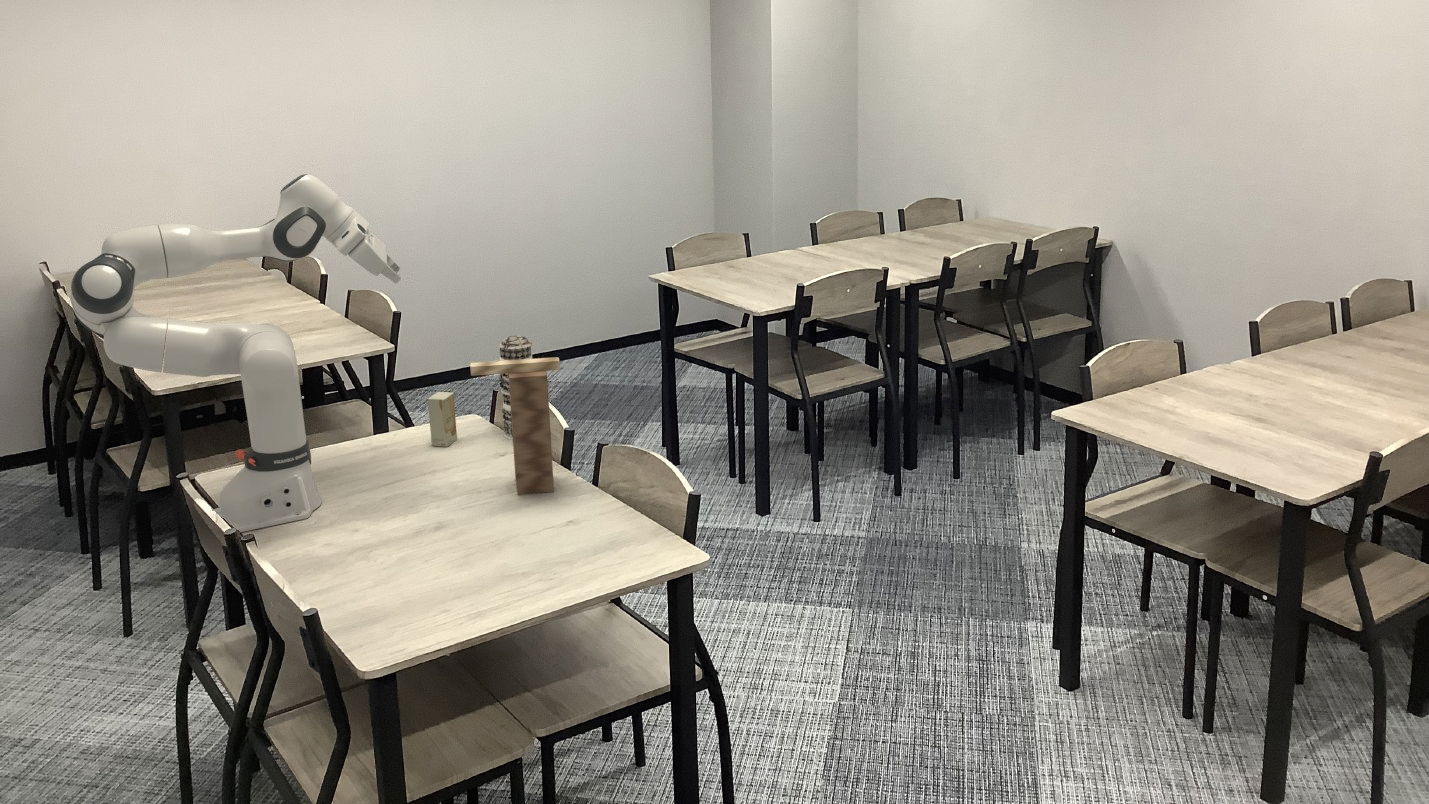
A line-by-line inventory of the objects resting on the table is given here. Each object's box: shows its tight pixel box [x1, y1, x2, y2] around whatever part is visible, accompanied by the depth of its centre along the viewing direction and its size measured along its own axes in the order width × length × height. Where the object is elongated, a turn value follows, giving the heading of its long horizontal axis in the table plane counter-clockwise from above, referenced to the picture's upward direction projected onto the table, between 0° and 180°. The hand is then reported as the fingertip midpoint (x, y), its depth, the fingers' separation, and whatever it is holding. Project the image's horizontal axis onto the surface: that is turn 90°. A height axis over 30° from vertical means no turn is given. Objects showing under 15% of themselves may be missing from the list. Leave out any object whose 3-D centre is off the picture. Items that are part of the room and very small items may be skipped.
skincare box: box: [427, 391, 458, 448], centre depth 294 cm, size 6×4×12 cm
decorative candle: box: [498, 335, 533, 441], centre depth 297 cm, size 9×9×25 cm
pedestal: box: [508, 371, 555, 496], centre depth 265 cm, size 8×10×27 cm
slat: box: [469, 356, 561, 377], centre depth 260 cm, size 19×3×2 cm, turn 101°
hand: (398, 275), depth 268 cm, fingers open, 8 cm apart
